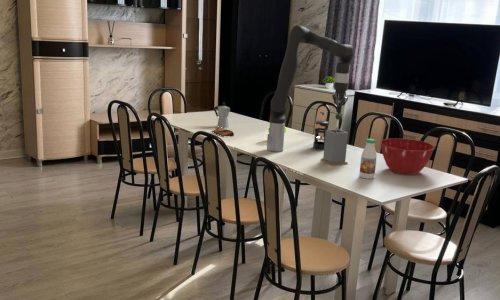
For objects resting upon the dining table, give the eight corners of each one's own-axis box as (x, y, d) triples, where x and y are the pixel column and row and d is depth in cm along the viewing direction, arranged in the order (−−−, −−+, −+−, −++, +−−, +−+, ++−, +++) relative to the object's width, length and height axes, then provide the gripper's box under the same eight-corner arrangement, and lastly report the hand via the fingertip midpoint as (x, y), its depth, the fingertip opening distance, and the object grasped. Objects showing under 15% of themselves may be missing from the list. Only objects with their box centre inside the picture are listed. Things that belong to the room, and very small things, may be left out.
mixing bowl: (406, 181, 262) (409, 151, 258) (366, 167, 285) (369, 140, 282) (442, 175, 277) (446, 147, 273) (401, 162, 300) (404, 136, 297)
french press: (317, 150, 319) (320, 113, 313) (308, 146, 327) (311, 111, 321) (332, 149, 324) (336, 113, 319) (323, 145, 332) (326, 110, 327)
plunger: (334, 140, 285) (336, 114, 281) (328, 138, 290) (330, 112, 287) (344, 140, 287) (346, 114, 284) (337, 137, 293) (340, 112, 290)
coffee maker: (233, 127, 376) (234, 103, 371) (226, 129, 368) (227, 104, 364) (217, 124, 383) (217, 100, 379) (209, 126, 376) (210, 101, 372)
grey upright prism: (330, 165, 285) (333, 133, 281) (320, 160, 295) (323, 129, 290) (347, 164, 289) (350, 132, 285) (336, 159, 299) (339, 129, 295)
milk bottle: (357, 174, 269) (361, 137, 264) (371, 175, 270) (375, 138, 265) (361, 179, 262) (365, 140, 257) (376, 179, 262) (380, 141, 258)
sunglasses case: (209, 132, 355) (213, 123, 356) (216, 136, 359) (220, 127, 360) (223, 137, 341) (228, 128, 342) (230, 141, 346) (235, 132, 346)
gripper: (329, 80, 286) (326, 110, 290) (342, 82, 274) (339, 114, 278) (340, 80, 289) (337, 110, 293) (354, 82, 277) (351, 114, 281)
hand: (338, 112), depth 285 cm, fingers closed
